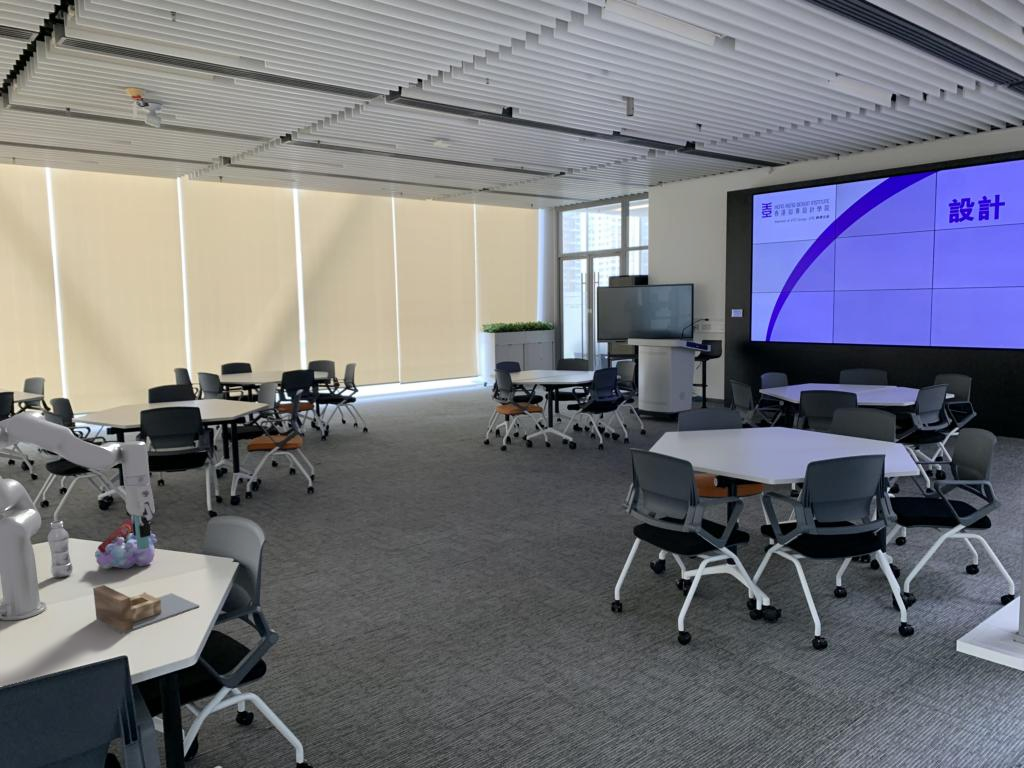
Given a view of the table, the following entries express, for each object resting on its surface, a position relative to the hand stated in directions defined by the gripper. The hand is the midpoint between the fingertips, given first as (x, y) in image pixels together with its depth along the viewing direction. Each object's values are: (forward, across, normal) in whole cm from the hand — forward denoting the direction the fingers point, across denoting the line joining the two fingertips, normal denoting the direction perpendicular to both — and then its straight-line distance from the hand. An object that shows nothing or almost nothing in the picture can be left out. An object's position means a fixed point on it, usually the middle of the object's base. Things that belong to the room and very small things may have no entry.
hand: (142, 534), depth 247 cm
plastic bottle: (+21, +48, +7) cm, 53 cm away
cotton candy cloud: (+22, +40, -12) cm, 47 cm away
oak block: (+21, -13, +10) cm, 26 cm away
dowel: (+4, 0, 0) cm, 4 cm away
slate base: (+21, -13, +6) cm, 26 cm away
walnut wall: (+21, -12, +16) cm, 30 cm away
